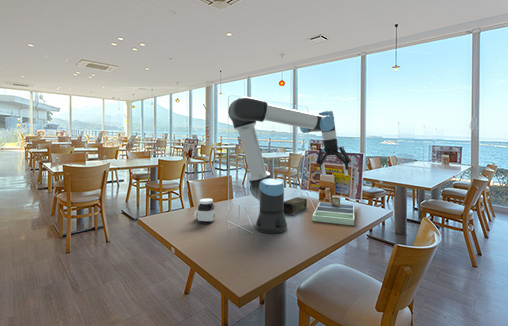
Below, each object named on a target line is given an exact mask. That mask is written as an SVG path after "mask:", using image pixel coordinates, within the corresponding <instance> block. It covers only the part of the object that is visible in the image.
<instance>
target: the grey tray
mask: <svg viewBox="0 0 508 326" xmlns="http://www.w3.org/2000/svg"><path fill="white" fill-rule="evenodd" d="M317 206H319V207H331V208H338V207H332V202H331V203H330V202H321V201H319V202H318V204H317ZM340 208H342V209H354V210H355V205H354V204H344V203H340Z"/></svg>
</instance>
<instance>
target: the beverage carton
mask: <svg viewBox="0 0 508 326" xmlns="http://www.w3.org/2000/svg"><path fill="white" fill-rule="evenodd" d="M307 202H308V199H307V198H303V197H300V196H297V197H294V198H291V199H287V200H284V214H287V215H291V216H292V215H294V214H296V213H298V212H300V211H303V210H305V209H307V206H308V203H307Z"/></svg>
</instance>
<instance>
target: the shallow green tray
mask: <svg viewBox="0 0 508 326" xmlns="http://www.w3.org/2000/svg"><path fill="white" fill-rule="evenodd" d="M315 211H323V212H333V213H344V214H354V215H355V208H354V209H342V208H331V207H319V206H318V205H317V206H316V208H315V210H314V212H315Z"/></svg>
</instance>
